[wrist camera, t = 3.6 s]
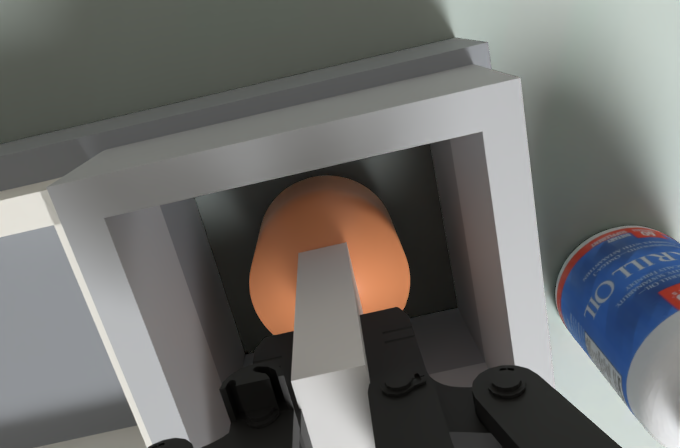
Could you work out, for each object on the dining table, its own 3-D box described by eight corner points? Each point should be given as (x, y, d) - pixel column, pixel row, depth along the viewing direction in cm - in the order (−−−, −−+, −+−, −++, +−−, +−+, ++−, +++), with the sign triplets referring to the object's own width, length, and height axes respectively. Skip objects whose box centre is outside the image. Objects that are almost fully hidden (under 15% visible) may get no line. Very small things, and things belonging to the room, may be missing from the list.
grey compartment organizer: (-5, 441, 25) (-141, 623, 17) (-144, 177, 21) (-399, 268, 13) (498, 331, 24) (582, 472, 17) (455, 37, 20) (540, 49, 13)
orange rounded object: (278, 312, 23) (272, 368, 19) (243, 192, 21) (229, 228, 17) (404, 285, 22) (422, 336, 19) (379, 161, 21) (393, 191, 17)
